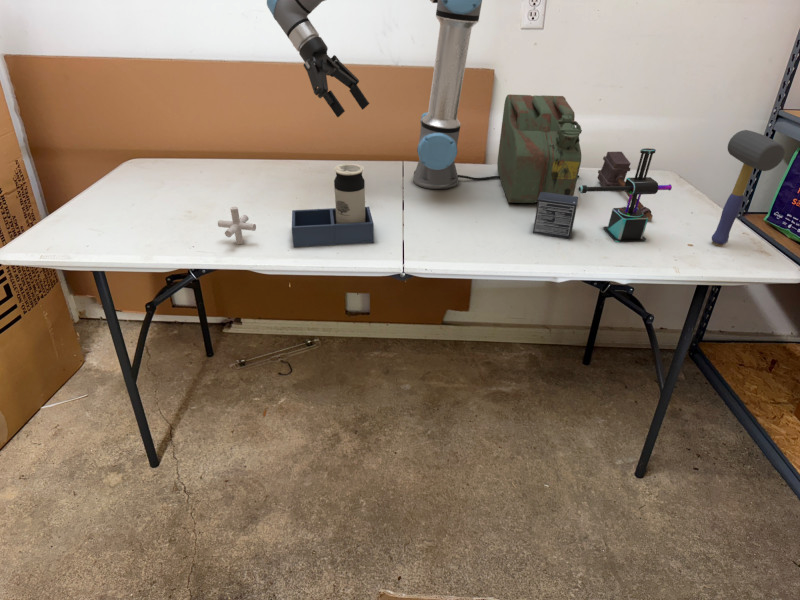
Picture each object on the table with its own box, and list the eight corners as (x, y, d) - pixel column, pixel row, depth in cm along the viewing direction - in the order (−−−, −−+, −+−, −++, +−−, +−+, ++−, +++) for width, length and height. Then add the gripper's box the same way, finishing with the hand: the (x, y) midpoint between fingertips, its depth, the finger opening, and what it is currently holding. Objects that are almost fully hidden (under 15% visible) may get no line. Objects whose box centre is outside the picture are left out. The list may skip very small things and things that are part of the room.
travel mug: (353, 222, 149) (350, 161, 139) (371, 231, 145) (370, 168, 135) (330, 231, 145) (327, 168, 135) (349, 240, 140) (346, 176, 130)
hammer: (614, 176, 183) (623, 150, 175) (653, 234, 160) (666, 207, 153) (595, 177, 182) (604, 151, 175) (632, 235, 159) (644, 207, 152)
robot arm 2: (641, 226, 153) (667, 143, 139) (657, 241, 145) (686, 154, 132) (559, 229, 150) (576, 144, 137) (571, 243, 143) (590, 156, 129)
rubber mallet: (692, 234, 149) (730, 127, 132) (717, 233, 150) (758, 127, 133) (718, 255, 139) (763, 142, 122) (744, 254, 139) (793, 142, 123)
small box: (571, 229, 150) (579, 195, 144) (570, 239, 145) (578, 204, 139) (534, 224, 153) (540, 190, 147) (531, 233, 148) (537, 198, 142)
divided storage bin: (369, 225, 151) (369, 206, 147) (373, 242, 142) (373, 223, 138) (294, 229, 148) (292, 210, 144) (293, 247, 139) (291, 227, 135)
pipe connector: (249, 253, 135) (243, 218, 130) (213, 249, 137) (206, 213, 131) (264, 236, 144) (260, 202, 138) (231, 232, 145) (225, 198, 140)
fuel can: (508, 207, 163) (521, 118, 148) (496, 168, 192) (505, 91, 177) (570, 209, 162) (590, 120, 147) (548, 170, 191) (562, 92, 176)
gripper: (325, 50, 156) (366, 111, 159) (273, 57, 137) (321, 126, 140) (341, 33, 152) (383, 96, 155) (289, 37, 132) (338, 109, 135)
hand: (354, 110), depth 147 cm, fingers open, 13 cm apart
